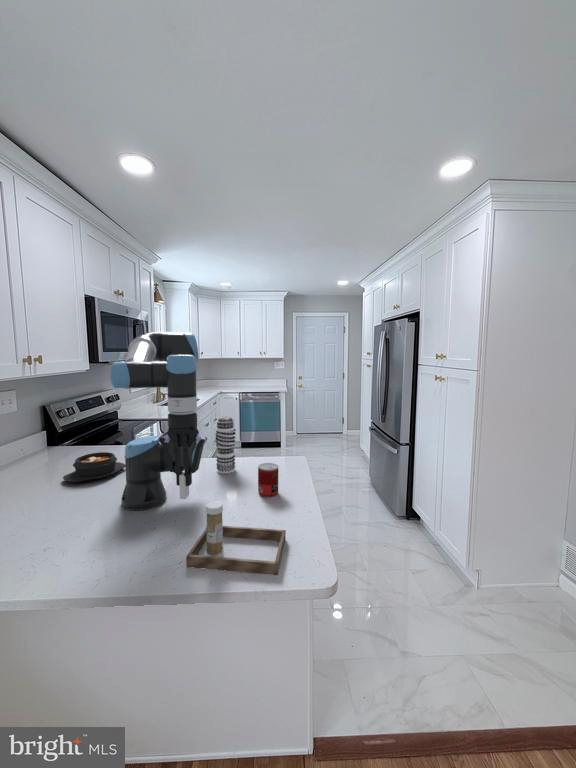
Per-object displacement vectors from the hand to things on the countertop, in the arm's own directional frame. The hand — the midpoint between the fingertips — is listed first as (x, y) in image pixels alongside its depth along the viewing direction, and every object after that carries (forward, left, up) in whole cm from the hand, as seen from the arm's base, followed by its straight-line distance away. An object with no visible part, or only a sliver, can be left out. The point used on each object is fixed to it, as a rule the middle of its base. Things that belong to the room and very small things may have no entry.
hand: (184, 496), depth 91 cm
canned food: (+16, +39, -15) cm, 45 cm away
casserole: (-63, +47, -16) cm, 80 cm away
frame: (+15, 0, -15) cm, 22 cm away
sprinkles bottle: (+8, 0, -15) cm, 18 cm away
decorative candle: (-8, +61, -15) cm, 64 cm away
